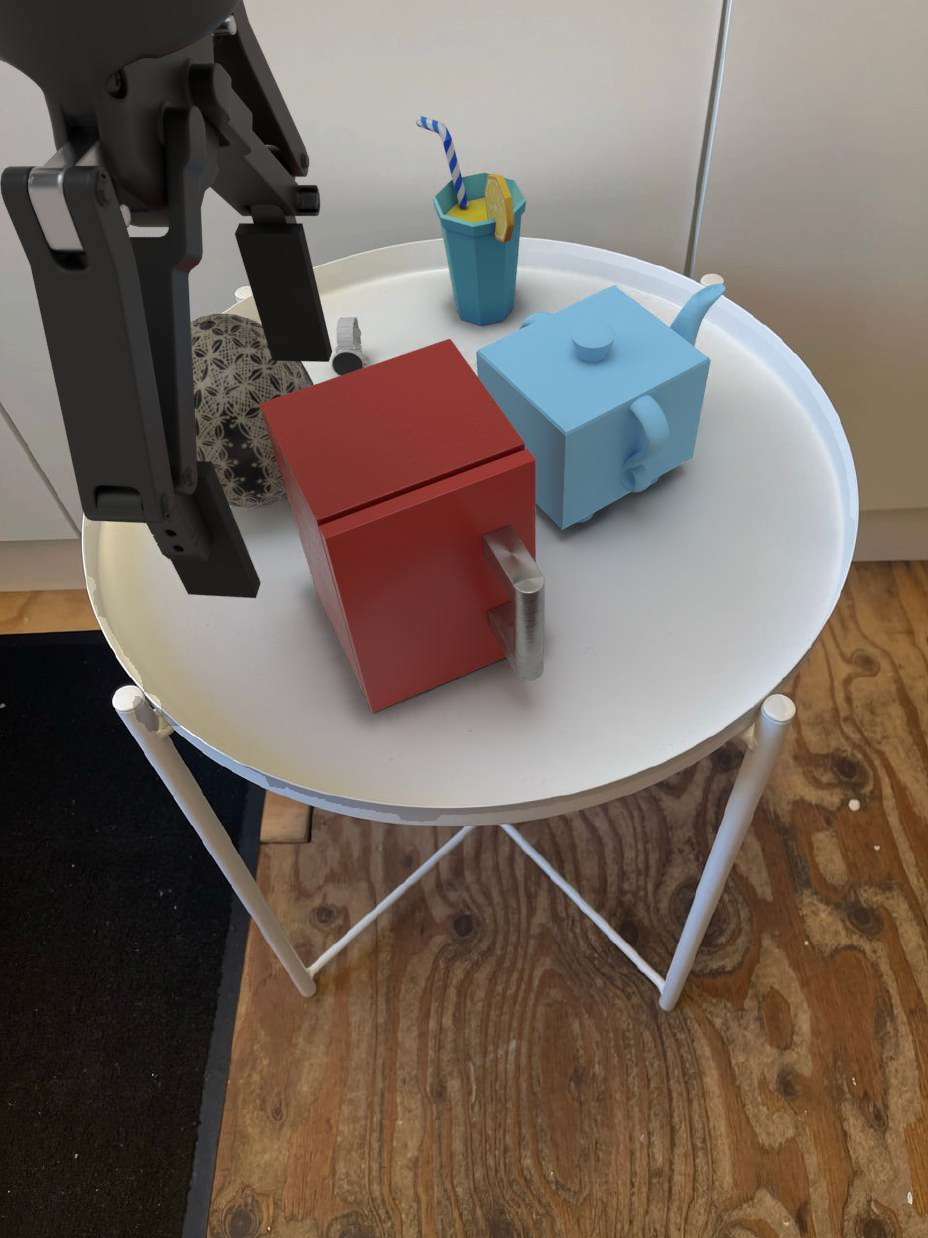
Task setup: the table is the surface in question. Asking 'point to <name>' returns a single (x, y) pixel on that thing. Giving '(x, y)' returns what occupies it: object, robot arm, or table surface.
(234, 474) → the decorative egg
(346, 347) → the wristwatch
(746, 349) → the table surface
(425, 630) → the cabinet door
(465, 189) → the cup
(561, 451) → the teapot
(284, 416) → the red cabinet body
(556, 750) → the table surface
